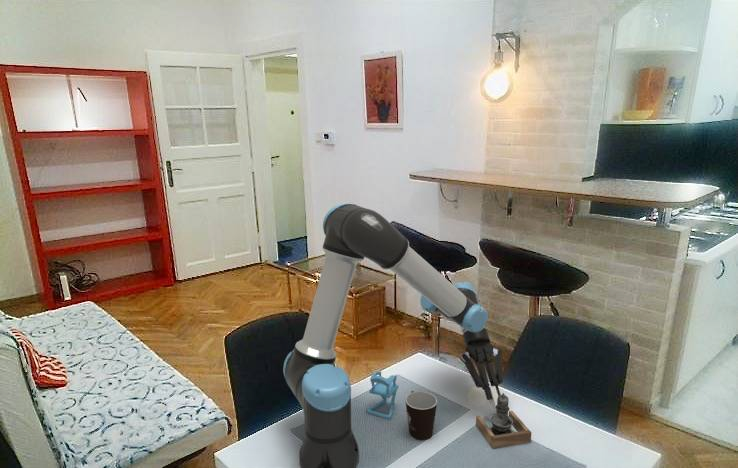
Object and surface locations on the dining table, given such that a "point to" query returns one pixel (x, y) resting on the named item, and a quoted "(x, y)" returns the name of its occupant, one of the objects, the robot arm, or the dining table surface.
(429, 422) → the coffee mug
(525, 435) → the pocket
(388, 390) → the chair
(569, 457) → the dining table surface
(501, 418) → the chess piece
